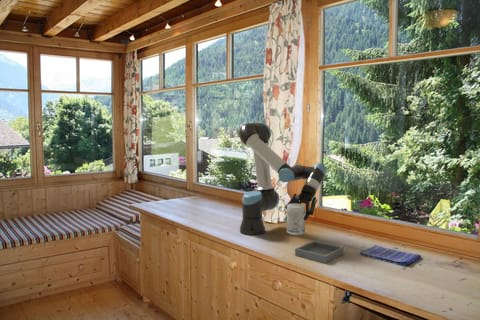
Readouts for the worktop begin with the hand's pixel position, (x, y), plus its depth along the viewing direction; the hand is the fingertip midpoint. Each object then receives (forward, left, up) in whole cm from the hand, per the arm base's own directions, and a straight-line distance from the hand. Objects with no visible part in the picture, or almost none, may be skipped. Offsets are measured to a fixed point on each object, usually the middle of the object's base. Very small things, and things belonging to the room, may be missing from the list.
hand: (292, 222), depth 203 cm
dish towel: (+43, +20, -14) cm, 50 cm away
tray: (+17, 0, -13) cm, 21 cm away
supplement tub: (0, +3, -6) cm, 7 cm away
